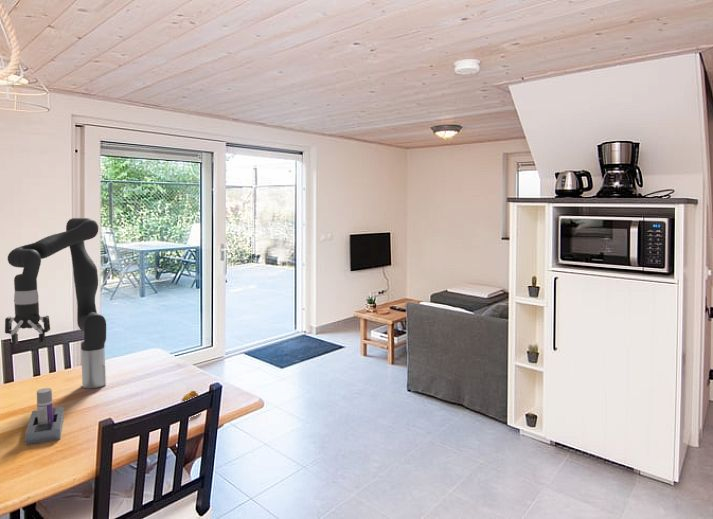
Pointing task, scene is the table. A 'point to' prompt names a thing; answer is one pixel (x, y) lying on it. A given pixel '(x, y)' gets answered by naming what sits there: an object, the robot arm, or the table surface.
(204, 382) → the table surface
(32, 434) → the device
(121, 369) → the table surface
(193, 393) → the fruit
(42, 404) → the container
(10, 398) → the table surface
